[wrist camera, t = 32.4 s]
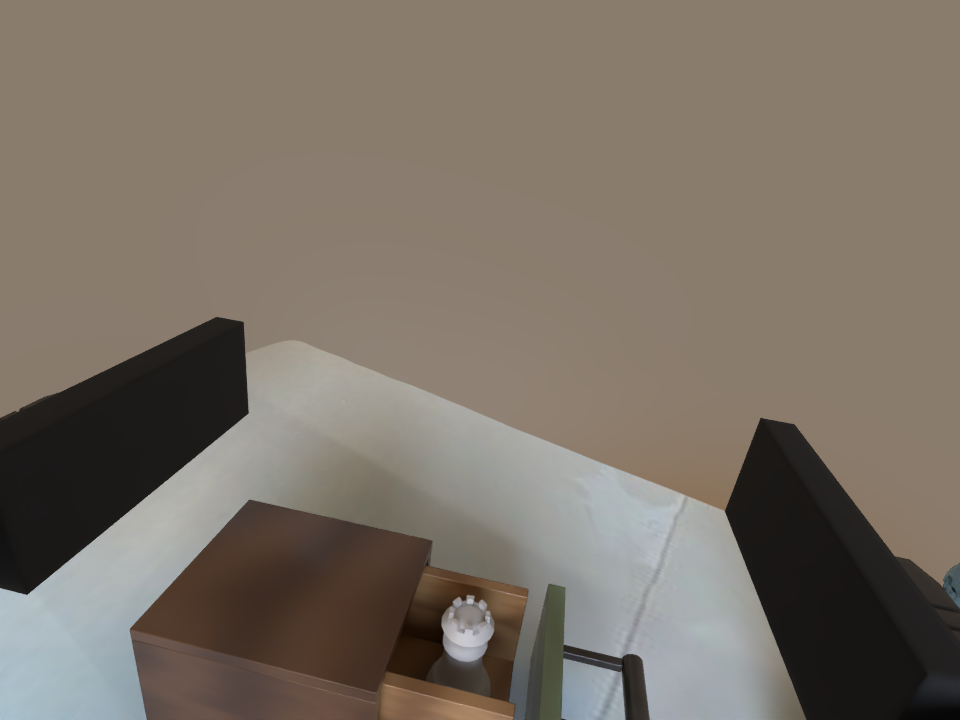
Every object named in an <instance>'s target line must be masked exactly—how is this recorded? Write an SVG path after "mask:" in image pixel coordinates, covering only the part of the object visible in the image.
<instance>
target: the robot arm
mask: <svg viewBox="0 0 960 720" xmlns="http://www.w3.org/2000/svg"><path fill="white" fill-rule="evenodd" d="M248 413H249V412H248V394H247V376H246V357H245V339H244V323H243V322H241V321H235V320H230V319H225V318H219V317H216V318H214V319H212V320H210V321H208V322H205V323H203V324H201V325H199V326H197V327H195V328H193V329H191V330H189V331H187V332H184V333H182V334H180V335H178V336H176V337H174V338H172V339H170V340H168V341H166V342H164V343H162V344H160V345H158V346H155V347H153V348H151V349H149V350H147V351H145V352H143V353H141V354H139V355H137V356H135V357H133V358H131V359H128V360H126V361H124V362H122V363H120V364H118V365H116V366H114V367H112V368H110V369H108V370H106V371H104V372H101V373H100V374H97V375H95V376H93V377H91V378H89V379H87V380H85V381H83V382H81V383H79V384H77V385H75V386H72V387H70V388H68V389H66V390H64V391H62V392H60V393H56V394H53V395H50V396H46V397H43V398H41V399H39V400H37V401H35V402H33V403H31V404H29V405H27V406H25V407H22V408H21V409H20V410H19V412H16V411H14V412H12V413H10V414H8V415H6V416H4V417H2V418H0V588H2V589H6V590H10V591H14V592H18V593H22V594H26V595H27V594H29V593H30V592H31V591H32V590H34V589H35V588H36V587H37V586H38V585H40V584H41V583H42V582H43V581H45V580H46V579H47V578H48V577H49V576H51V575H52V574H53V573H54V572H55V571H57V570H58V569H59V568H60V567H62V566H63V565H64V564H65V563H66V562H68V561H69V560H70V559H71V558H73V557H74V556H75V555H76V554H77V553H79V552H80V551H81V550H82V549H84V548H85V547H86V546H87V545H88V544H90V543H91V542H92V541H93V540H95V539H96V538H97V537H98V536H99V535H101V534H102V533H103V532H104V531H106V530H107V529H108V528H109V527H110V526H112V525H113V524H114V523H115V522H117V521H118V520H119V519H120V518H121V517H123V516H124V515H125V514H126V513H128V512H129V511H130V510H131V509H132V508H134V507H135V506H136V505H137V504H139V503H140V502H141V501H142V500H143V499H145V498H146V497H147V496H148V495H150V494H151V493H152V492H153V491H154V490H156V489H157V488H158V487H159V486H160V485H162V484H163V483H164V482H165V481H167V480H168V479H169V478H170V477H171V476H173V475H174V474H175V473H176V472H178V471H179V470H180V469H181V468H182V467H184V466H185V465H186V464H187V463H189V462H190V461H191V460H192V459H193V458H195V457H196V456H197V455H198V454H200V453H201V452H202V451H203V450H204V449H206V448H207V447H208V446H209V445H211V444H212V443H213V442H214V441H215V440H217V439H218V438H219V437H220V436H222V435H223V434H224V433H225V432H226V431H228V430H229V429H230V428H231V427H233V426H234V425H235V424H236V423H237V422H239V421H240V420H241V419H242V418H244V417H245V416H246V415H247V414H248ZM725 513H726V515H727V518H728V520H729V523H730V526H731V528H732V531H733V533H734V536H735V538H736V541H737V543H738V546H739V548H740V551H741V554H742V556H743V559H744V561H745V564H746V566H747V569H748V571H749V574H750V577H751V579H752V582H753V584H754V587H755V589H756V592H757V594H758V597H759V599H760V602H761V605H762V607H763V610H764V612H765V615H766V617H767V620H768V622H769V625H770V628H771V630H772V633H773V635H774V638H775V640H776V643H777V645H778V648H779V650H780V653H781V656H782V658H783V661H784V663H785V666H786V668H787V671H788V673H789V676H790V679H791V681H792V684H793V686H794V689H795V691H796V694H797V696H798V699H799V701H800V704H801V707H802V709H803V712H804V714H805V717H806V719H807V720H960V563H959V564H957V565H955V566H954V567H952V568H951V569H950V570H949V571H948V572H947V574H946V575H945V577H944V579H943V581H944V585H943V587H942V586H941V585H940V584H939V583H938V582H936V581H935V580H934V579H933V578H932V577H931V576H929V575H928V574H927V573H926V572H924V571H923V570H922V569H921V568H919V567H918V566H917V565H916V564H915V563H913V562H912V561H911V560H909V559H904V558H900V557H895V556H894V555H893V554H892V552H891V551H890V550H889V548H888V547H887V546H886V544H885V543H884V542H883V540H882V539H881V538H880V537H879V535H878V534H877V533H876V531H875V530H874V529H873V527H872V526H871V525H870V523H869V522H868V521H867V519H866V518H865V517H864V515H863V514H862V513H861V511H860V510H859V509H858V507H857V506H856V505H855V503H854V502H853V501H852V499H851V498H850V497H849V496H848V494H847V493H846V492H845V490H844V489H843V488H842V486H841V485H840V484H839V482H838V481H837V480H836V478H835V477H834V476H833V474H832V473H831V472H830V470H829V469H828V468H827V467H826V465H825V464H824V463H823V461H822V460H821V459H820V457H819V456H818V455H817V453H816V452H815V451H814V449H813V448H812V447H811V445H810V444H809V443H808V442H807V440H806V439H805V438H804V436H803V435H802V434H801V433H800V431H799V430H798V428H797V427H796V426H795V425H794V424H789V423H784V422H778V421H774V420H768V419H763V418H760V421H759V424H758V426H757V429H756V432H755V434H754V437H753V440H752V442H751V445H750V447H749V450H748V452H747V455H746V458H745V460H744V463H743V466H742V469H741V471H740V473H739V476H738V479H737V481H736V484H735V487H734V489H733V492H732V494H731V497H730V500H729V502H728V505H727V507H726V510H725Z"/></svg>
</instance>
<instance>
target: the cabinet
mask: <svg viewBox="0 0 960 720" xmlns="http://www.w3.org/2000/svg"><path fill="white" fill-rule="evenodd" d="M431 549H432V541H431V540H427V539H422V538H418V537H414V536H409V535H405V534H400V533H396V532H391V531H387V530H382V529H378V528H373V527H369V526H365V525H360V524H356V523H351V522H347V521H342V520H338V519H333V518H329V517H325V516H320V515H316V514H311V513H307V512H302V511H298V510H293V509H289V508H284V507H280V506H276V505H271V504H267V503H262V502H258V501H253V500H249V501H248V502H247V503H246V504H245V505H244V506H243V507H242V508H241V509H240V510H239V511H238V512H237V514H236V515H235V516H234V517H233V518H232V519H231V520H230V521H229V522H228V523H227V524H226V525H225V527H224V528H223V529H222V530H221V531H220V532H219V533H218V534H217V535H216V536H215V537H214V538H213V539H212V541H211V542H210V543H209V544H208V545H207V546H206V547H205V548H204V549H203V550H202V551H201V552H200V554H199V555H198V556H197V557H196V558H195V559H194V560H193V561H192V562H191V563H190V564H189V565H188V567H187V568H186V569H185V570H184V571H183V572H182V573H181V574H180V575H179V576H178V577H177V578H176V580H175V581H174V582H173V583H172V584H171V585H170V586H169V587H168V588H167V589H166V590H165V591H164V593H163V594H162V595H161V596H160V597H159V598H158V599H157V600H156V601H155V602H154V603H153V604H152V605H151V607H150V608H149V609H148V610H147V611H146V612H145V613H144V614H143V615H142V616H141V617H140V618H139V620H138V621H137V622H136V623H135V624H134V625H133V626H132V627H131V628H130V634H131V639H132V644H133V650H134V655H135V660H136V665H137V671H138V676H139V681H140V686H141V692H142V697H143V702H144V707H145V712H146V718H147V720H378V715H379V702H380V689H381V687H382V684H383V681H384V678H385V676H386V673H387V670H388V667H389V665H390V662H391V659H392V656H393V654H394V651H395V648H396V645H397V643H398V640H399V637H400V634H401V632H402V629H403V626H404V624H405V621H406V618H407V615H408V613H409V610H410V607H411V604H412V602H413V599H414V596H415V593H416V591H417V588H418V585H419V582H420V580H421V577H422V574H423V571H424V569H425V566H430V559H431Z"/></svg>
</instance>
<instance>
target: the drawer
mask: <svg viewBox="0 0 960 720" xmlns="http://www.w3.org/2000/svg"><path fill="white" fill-rule="evenodd" d="M467 595H470V596H475V597H474V602H476V603H478V604H479V602H480V601H481V600H483V601H484V602H485V603H486V604H487V609H486V610H487V611H490V614H491V616H492V618H493V620H494V632H493V635H492V637H491V639H490V640H488V645H487V649H486V651H485V653H484V655H483V656H482V663H483V666H484V668H485V669H486V672H487V674H488V676H489V679H490V697H486V696H482V695H478V694H474V693H470V692H466V691H462V690H458V689H454V688H450V687H447V686H443V685H439V684H435V683H431V682H427V681H426V676H427V675H428V673H429V671H430V669H431V668H432V666H433V664H434V663H435V662H436V661H438V659H439V658H440V657H442V654H443V651H444V649H445V647H444V645H443V635H444V631H443V628H442V625H441V624H442V616H443V614H444V613H445V611H446V610H447V609H448V608H449V607H450V606H452V605H453V601H454V600H455V599H457V598H458V597H460V598H461V600H462V601H466V597H467ZM527 598H528V589H526V588H521V587H517V586H512V585H508V584H504V583H499V582H495V581H491V580H486V579H482V578H478V577H473V576H469V575H465V574H460V573H456V572H452V571H447V570H443V569H439V568H434V567H430V566H425V569H424V571H423V574H422V577H421V580H420V582H419V585H418V588H417V591H416V593H415V596H414V599H413V602H412V604H411V607H410V610H409V613H408V615H407V618H406V621H405V624H404V626H403V629H402V632H401V634H400V637H399V640H398V643H397V645H396V648H395V651H394V654H393V656H392V659H391V662H390V665H389V667H388V670H387V673H386V676H385V678H384V681H383V684H382V687H381V689H380V702H379V715H378V720H513V719H514V711H515V704H513V703H509V694H510V686H511V679H512V671H513V663H514V658H515V653H516V649H517V644H518V639H519V635H520V630H521V626H522V621H523V616H524V612H525V607H526V602H527ZM564 618H565V587H561V586H556V585H552V584H548V588H547V592H546V596H545V601H544V605H543V609H542V614H541V618H540V622H539V626H538V631H537V635H536V639H535V643H534V648H533V652H532V656H531V663H530V673H529V684H528V694H527V705H526V715H525V720H565V719H561V710H562V679H563V658H565V659H569V660H573V661H577V662H581V663H585V664H589V665H593V666H597V667H602V668H606V669H610V670H614V671H618V672H621V670H622V682H623V695H624V707H625V720H650V719H649V711H648V702H647V694H646V686H645V677H644V669H643V661H642V659H641V658H640V657H639V656H637V655H634V654H627V655H625V656H623V657H622V659H621V658H617V657H613V656H608V655H604V654H600V653H596V652H592V651H588V650H583V649H579V648H575V647H571V646H567V645H564Z"/></svg>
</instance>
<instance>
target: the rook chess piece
mask: <svg viewBox="0 0 960 720" xmlns="http://www.w3.org/2000/svg"><path fill="white" fill-rule="evenodd" d="M474 597H475V596H470V595H467V597H466V601H462V600H461V598H460V597H458V598H457V599H455V600H454V601H453V605H452V606H450V607H449V608H448V609H447V610H446V611H445V613H444V614H443V616H442V624H441V625H442V628H443V631H444V635H443V645H444V647H445V649H444V651H443V654H442V657H440V658H439V659H438V661H436V662H435V663H434V664H433V666H432V668H431V669H430V671H429V673H428V675H427V676H426V681H427V682H431V683H435V684H439V685H443V686H447V687H450V688H454V689H458V690H462V691H466V692H470V693H474V694H478V695H482V696H486V697H490V679H489V676H488V674H487V672H486V669H485V668H484V666H483V663H482V656H483V655H484V653H485V651H486V649H487V645H488V640H490V639H491V637H492V635H493V632H494V620H493V618H492V616H491V614H490V611H487V610H486V609H487V604H486V603H485V602H484V601H483V600H481V601H480V602H479V604H478V603H476V602H474Z"/></svg>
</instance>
